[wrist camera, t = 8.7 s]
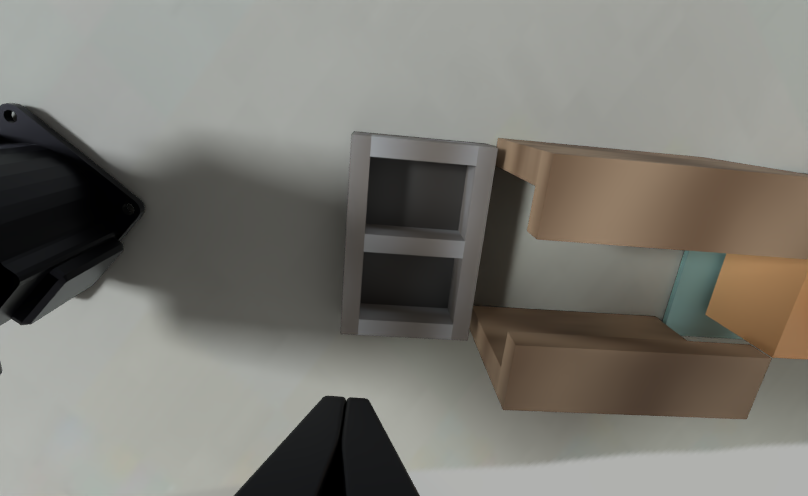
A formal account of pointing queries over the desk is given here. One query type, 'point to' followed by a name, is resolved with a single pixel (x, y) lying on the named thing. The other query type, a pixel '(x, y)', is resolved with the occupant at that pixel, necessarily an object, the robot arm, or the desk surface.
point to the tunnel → (572, 222)
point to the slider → (764, 303)
